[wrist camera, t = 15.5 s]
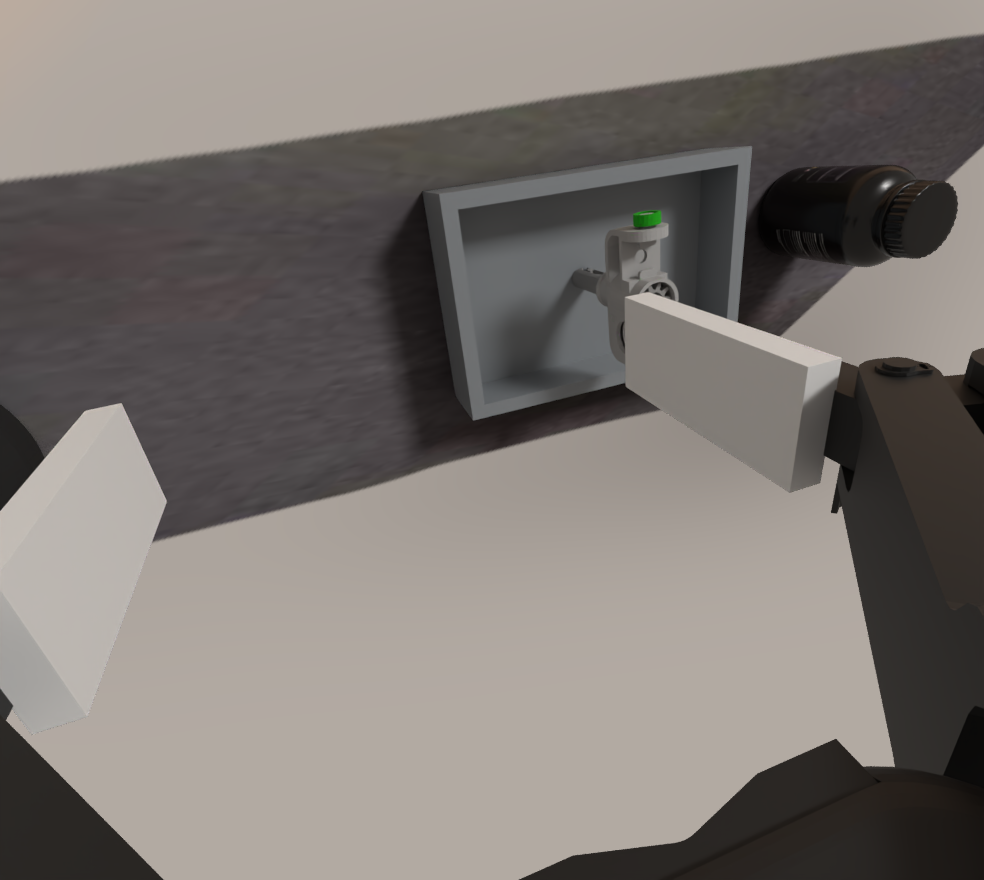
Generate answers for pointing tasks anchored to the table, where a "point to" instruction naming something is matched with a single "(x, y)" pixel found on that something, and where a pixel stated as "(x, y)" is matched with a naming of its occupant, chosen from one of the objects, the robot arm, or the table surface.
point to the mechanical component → (628, 272)
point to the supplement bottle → (856, 214)
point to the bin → (573, 267)
